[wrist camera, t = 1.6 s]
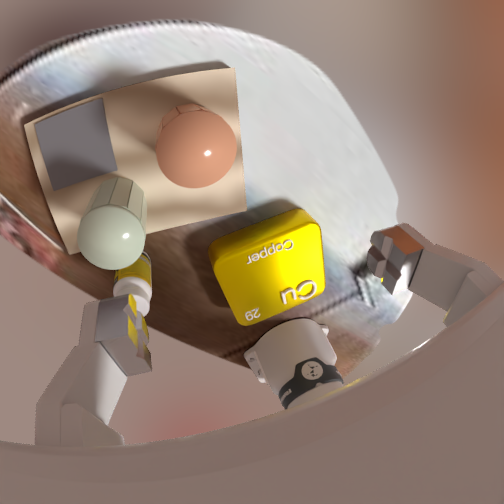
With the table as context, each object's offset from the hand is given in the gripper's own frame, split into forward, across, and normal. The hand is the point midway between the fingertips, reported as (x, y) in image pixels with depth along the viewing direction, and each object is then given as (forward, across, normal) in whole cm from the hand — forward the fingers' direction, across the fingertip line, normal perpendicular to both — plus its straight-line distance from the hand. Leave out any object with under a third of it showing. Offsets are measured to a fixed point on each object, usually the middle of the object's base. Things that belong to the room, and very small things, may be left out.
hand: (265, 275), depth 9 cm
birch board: (+24, +6, +2) cm, 25 cm away
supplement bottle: (+24, +10, +15) cm, 30 cm away
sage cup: (+23, +9, +6) cm, 25 cm away
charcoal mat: (+23, +12, -2) cm, 26 cm away
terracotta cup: (+23, 0, 0) cm, 23 cm away
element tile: (+25, -8, +21) cm, 34 cm away
